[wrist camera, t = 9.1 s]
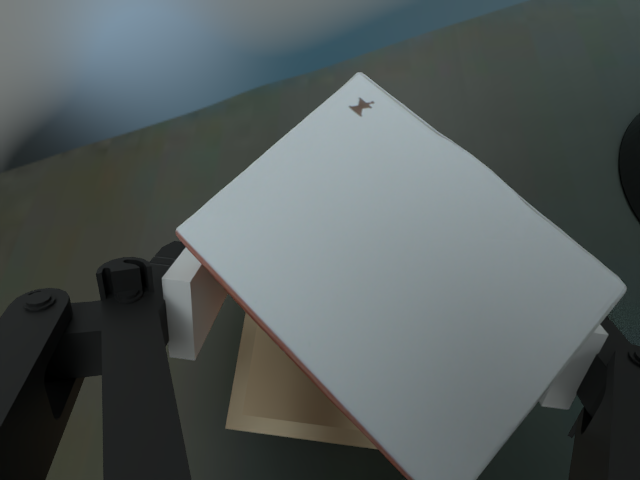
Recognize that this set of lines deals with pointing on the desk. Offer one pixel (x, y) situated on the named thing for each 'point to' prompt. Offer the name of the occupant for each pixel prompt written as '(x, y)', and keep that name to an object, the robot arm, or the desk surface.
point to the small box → (403, 280)
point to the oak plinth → (282, 396)
